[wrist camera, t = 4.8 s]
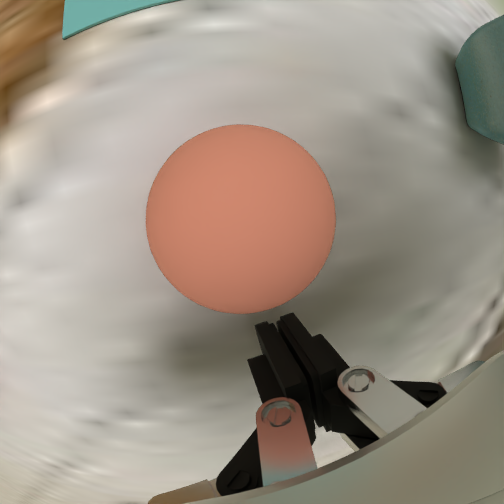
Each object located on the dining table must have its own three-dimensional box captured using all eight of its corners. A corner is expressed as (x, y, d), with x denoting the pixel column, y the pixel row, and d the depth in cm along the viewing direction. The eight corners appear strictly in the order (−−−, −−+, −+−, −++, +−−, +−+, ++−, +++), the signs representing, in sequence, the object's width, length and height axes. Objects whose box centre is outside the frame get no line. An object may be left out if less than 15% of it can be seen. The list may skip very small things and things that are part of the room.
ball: (369, 298, 8) (290, 220, 12) (377, 120, 5) (267, 100, 9) (208, 378, 7) (176, 269, 11) (97, 216, 4) (121, 150, 8)
